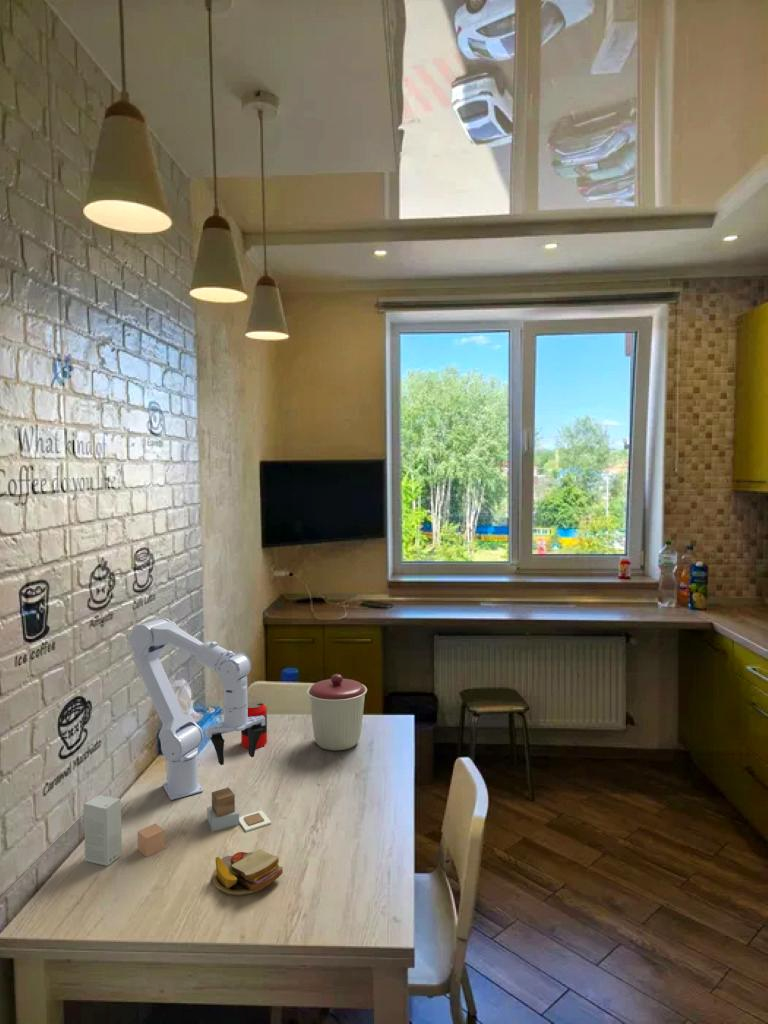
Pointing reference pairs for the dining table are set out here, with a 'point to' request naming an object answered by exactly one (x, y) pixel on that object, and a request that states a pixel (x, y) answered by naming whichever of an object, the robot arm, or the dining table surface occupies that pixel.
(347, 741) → the canister
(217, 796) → the walnut cube
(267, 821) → the swatch
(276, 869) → the toy sandwich meal
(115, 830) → the skincare box
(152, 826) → the terracotta cube
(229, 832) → the dining table surface
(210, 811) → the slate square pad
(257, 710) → the soda can
